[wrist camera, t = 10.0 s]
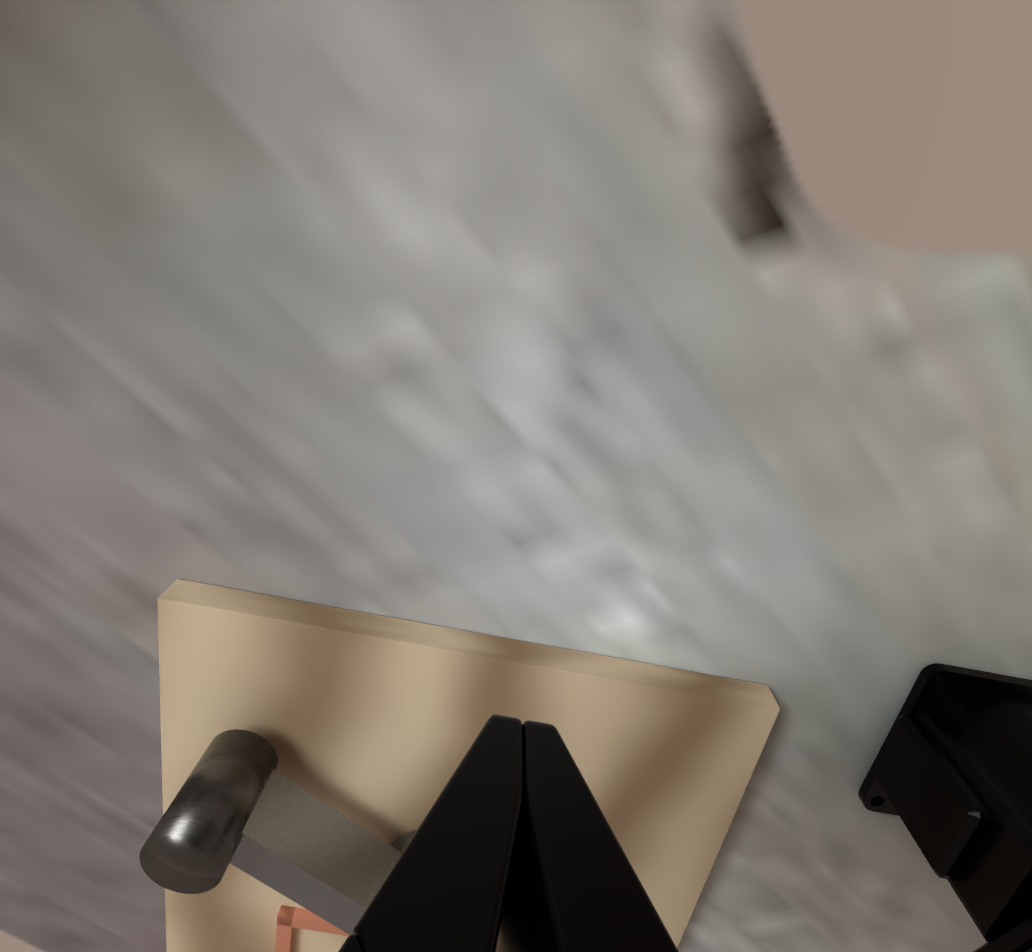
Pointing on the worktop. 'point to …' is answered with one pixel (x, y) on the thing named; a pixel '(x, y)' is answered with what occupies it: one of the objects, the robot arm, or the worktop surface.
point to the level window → (299, 926)
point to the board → (440, 737)
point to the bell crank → (266, 835)
